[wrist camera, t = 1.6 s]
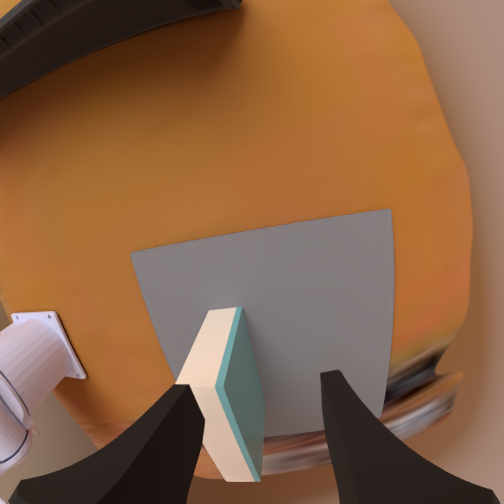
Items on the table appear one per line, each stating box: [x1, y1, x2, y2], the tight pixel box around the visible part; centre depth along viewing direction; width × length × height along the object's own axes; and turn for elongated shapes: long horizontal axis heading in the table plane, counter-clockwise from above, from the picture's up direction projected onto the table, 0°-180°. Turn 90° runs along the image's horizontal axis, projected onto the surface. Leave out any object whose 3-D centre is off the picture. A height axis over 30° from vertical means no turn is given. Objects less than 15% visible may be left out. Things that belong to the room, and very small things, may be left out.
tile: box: [176, 307, 266, 482], centre depth 16 cm, size 2×10×8 cm, turn 11°
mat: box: [130, 209, 394, 437], centre depth 20 cm, size 18×20×1 cm
